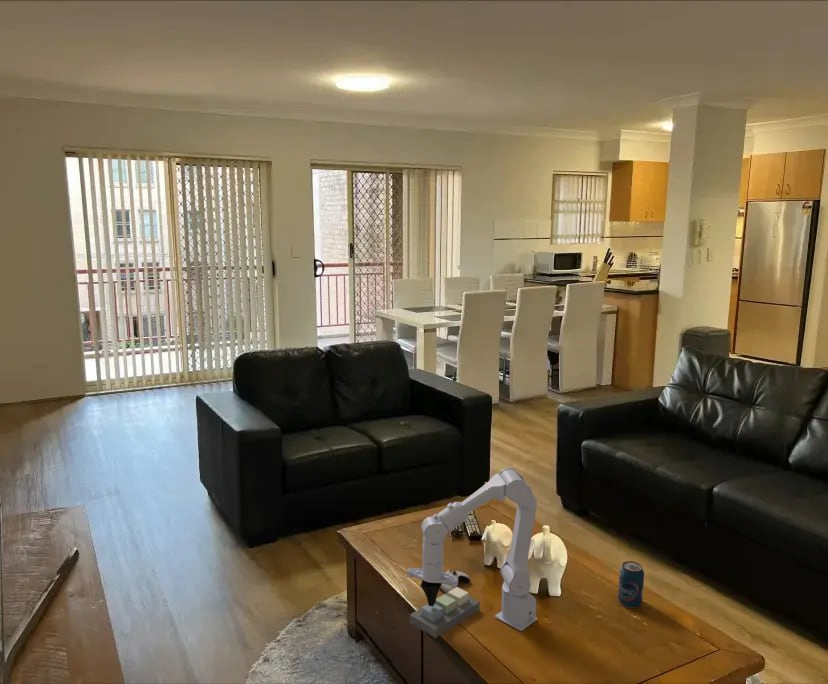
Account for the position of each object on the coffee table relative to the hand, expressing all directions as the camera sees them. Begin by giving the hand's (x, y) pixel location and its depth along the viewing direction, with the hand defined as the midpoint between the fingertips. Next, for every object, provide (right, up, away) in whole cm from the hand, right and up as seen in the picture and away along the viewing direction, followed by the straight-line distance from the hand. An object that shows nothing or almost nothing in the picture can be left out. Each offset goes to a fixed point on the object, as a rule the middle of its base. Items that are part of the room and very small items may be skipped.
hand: (431, 604), depth 189 cm
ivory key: (+8, -3, +9) cm, 12 cm away
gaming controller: (+7, -3, +21) cm, 23 cm away
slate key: (0, -4, +1) cm, 5 cm away
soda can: (+60, -5, +13) cm, 61 cm away
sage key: (+4, -4, +5) cm, 7 cm away
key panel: (+4, -5, +5) cm, 8 cm away
